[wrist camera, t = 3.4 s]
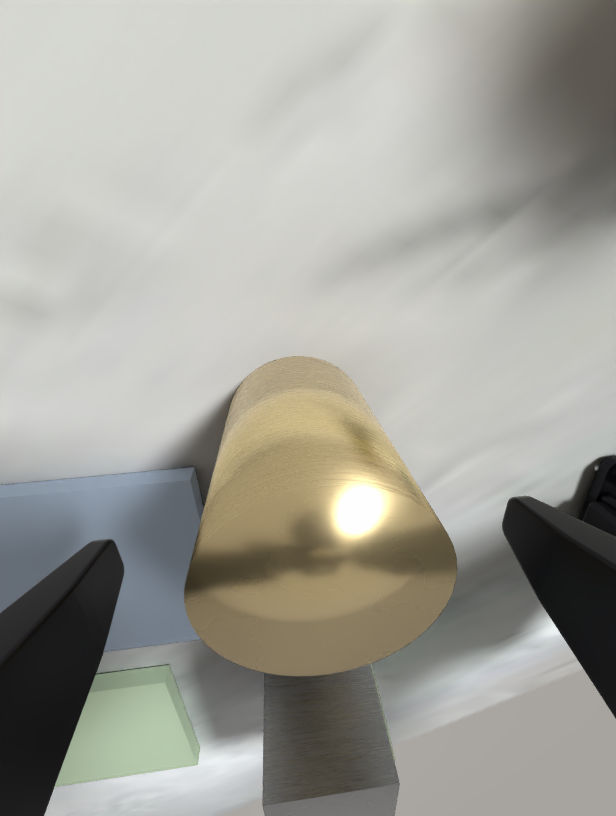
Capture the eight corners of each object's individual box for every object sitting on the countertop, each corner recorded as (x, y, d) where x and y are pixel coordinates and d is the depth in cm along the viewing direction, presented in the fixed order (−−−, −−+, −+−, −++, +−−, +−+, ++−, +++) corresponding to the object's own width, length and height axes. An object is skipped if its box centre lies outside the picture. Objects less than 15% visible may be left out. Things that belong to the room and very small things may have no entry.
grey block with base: (360, 568, 16) (417, 773, 10) (356, 686, 20) (395, 882, 14) (253, 580, 16) (242, 801, 10) (273, 698, 20) (273, 904, 14)
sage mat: (169, 664, 18) (164, 682, 17) (200, 747, 22) (197, 765, 21) (-15, 688, 17) (-27, 708, 16) (51, 769, 21) (43, 788, 20)
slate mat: (194, 467, 13) (190, 480, 12) (228, 619, 17) (226, 636, 16) (-61, 490, 12) (-82, 505, 12) (35, 643, 16) (24, 661, 15)
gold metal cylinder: (366, 351, 12) (478, 471, 5) (362, 471, 14) (440, 658, 8) (218, 361, 11) (152, 504, 5) (238, 483, 14) (209, 690, 7)
